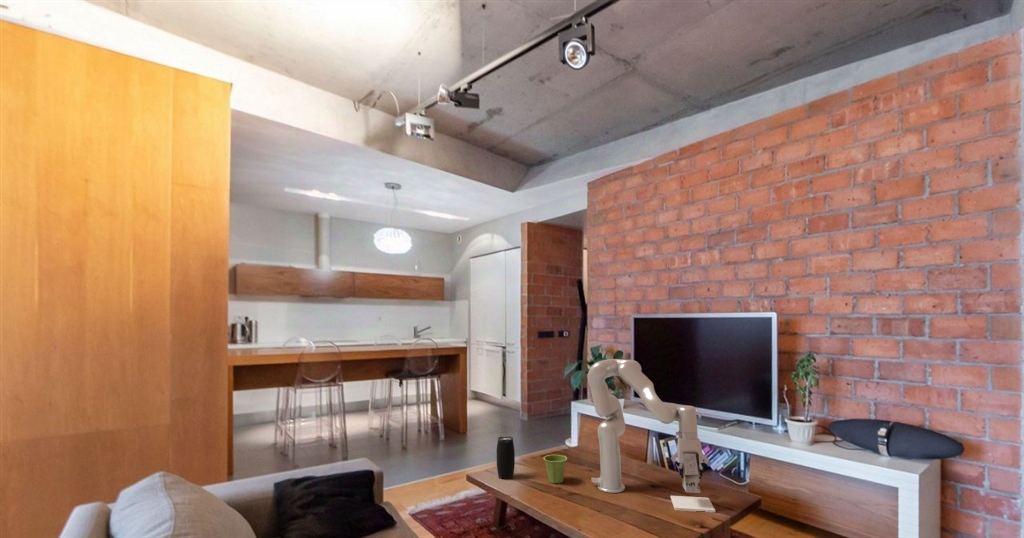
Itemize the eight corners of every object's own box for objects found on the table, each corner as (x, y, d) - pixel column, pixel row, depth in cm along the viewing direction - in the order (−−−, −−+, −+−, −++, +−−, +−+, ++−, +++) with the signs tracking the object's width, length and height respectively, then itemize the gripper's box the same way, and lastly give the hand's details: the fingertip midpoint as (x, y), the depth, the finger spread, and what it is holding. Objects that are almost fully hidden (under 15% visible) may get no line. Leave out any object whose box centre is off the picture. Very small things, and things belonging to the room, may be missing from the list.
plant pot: (571, 479, 229) (571, 456, 230) (561, 487, 219) (560, 463, 220) (550, 475, 235) (550, 453, 236) (539, 482, 225) (539, 459, 226)
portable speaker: (493, 476, 235) (493, 437, 237) (509, 472, 240) (508, 434, 242) (502, 481, 228) (502, 441, 230) (518, 477, 233) (517, 438, 235)
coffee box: (701, 493, 192) (699, 453, 194) (685, 492, 193) (683, 453, 195) (697, 485, 201) (695, 447, 203) (682, 484, 202) (679, 447, 204)
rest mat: (674, 510, 192) (674, 507, 192) (670, 497, 204) (670, 495, 205) (715, 512, 189) (715, 510, 189) (708, 500, 201) (708, 497, 201)
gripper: (668, 436, 198) (671, 479, 196) (711, 438, 194) (714, 481, 192) (666, 432, 205) (668, 473, 203) (707, 433, 201) (710, 475, 200)
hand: (690, 477), depth 198 cm, fingers closed on coffee box, 6 cm apart
